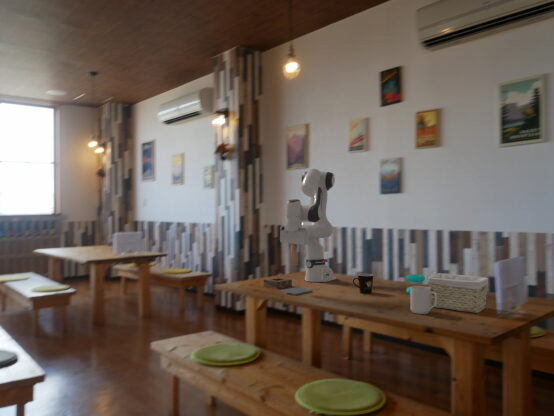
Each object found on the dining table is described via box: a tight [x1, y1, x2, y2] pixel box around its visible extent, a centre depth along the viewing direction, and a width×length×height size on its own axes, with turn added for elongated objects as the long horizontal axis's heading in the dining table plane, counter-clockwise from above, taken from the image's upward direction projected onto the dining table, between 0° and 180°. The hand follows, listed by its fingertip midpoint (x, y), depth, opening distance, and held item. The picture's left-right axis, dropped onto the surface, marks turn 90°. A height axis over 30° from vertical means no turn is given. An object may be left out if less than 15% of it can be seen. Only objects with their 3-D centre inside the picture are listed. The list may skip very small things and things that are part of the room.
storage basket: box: [427, 272, 489, 314], centre depth 212 cm, size 24×16×15 cm
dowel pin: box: [290, 244, 299, 267], centre depth 257 cm, size 4×4×12 cm
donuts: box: [405, 273, 426, 295], centre depth 247 cm, size 10×10×10 cm
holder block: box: [263, 277, 293, 290], centre depth 271 cm, size 12×12×5 cm
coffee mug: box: [352, 273, 374, 295], centre depth 252 cm, size 12×9×10 cm
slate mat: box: [277, 286, 313, 297], centre depth 257 cm, size 14×14×1 cm
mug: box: [409, 285, 437, 315], centre depth 204 cm, size 12×9×11 cm
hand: (294, 252), depth 257 cm, fingers closed on dowel pin, 4 cm apart
